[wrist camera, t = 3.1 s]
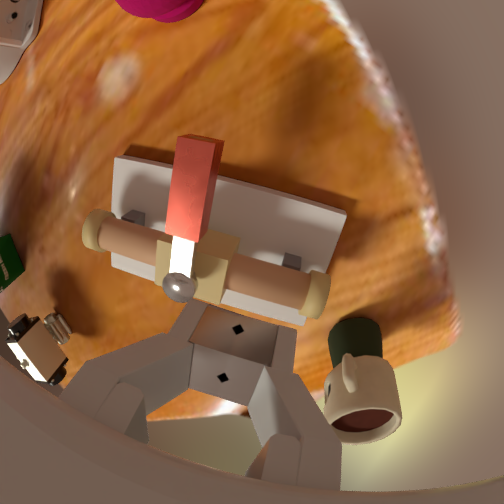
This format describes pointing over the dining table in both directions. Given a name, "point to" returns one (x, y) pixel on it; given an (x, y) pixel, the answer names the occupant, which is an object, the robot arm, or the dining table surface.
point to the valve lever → (189, 209)
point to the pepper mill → (161, 8)
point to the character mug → (360, 384)
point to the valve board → (234, 219)
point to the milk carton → (9, 262)
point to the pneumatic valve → (40, 346)
